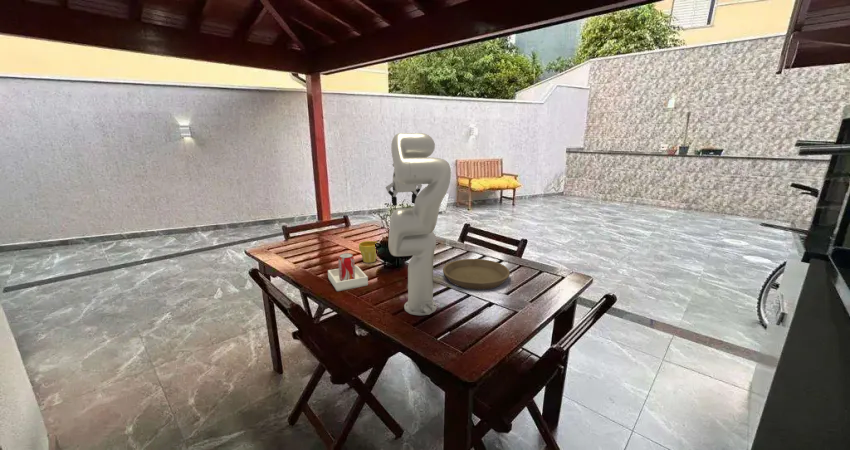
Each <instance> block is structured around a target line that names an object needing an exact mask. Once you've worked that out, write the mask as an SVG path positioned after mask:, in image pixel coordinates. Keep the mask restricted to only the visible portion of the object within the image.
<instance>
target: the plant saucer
mask: <svg viewBox="0 0 850 450" xmlns="http://www.w3.org/2000/svg"><path fill="white" fill-rule="evenodd" d="M442 274H444V276H445V278H446V279H447V280H448V281H449V280H450V281H451V284H453V283H454V284H453V285H455V284H456V286H457V285H458V286H457V287H460V286H461V287H460V288H464V289H469V288H470V289H469V290H489V289H494V288H498V287H500V286H501V285H502V284H504V282H506V281H507V280H508V279H509V278H510V274H511V273H510V269H508V267H507V266H505V265H504V264H502V263H499V262H497V261H493V260H489V259H483V258H463V259H457V260H454V261H451V262H448V263H447V264H445V265H444V266H443V267H442ZM450 281H449V282H450Z"/></svg>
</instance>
